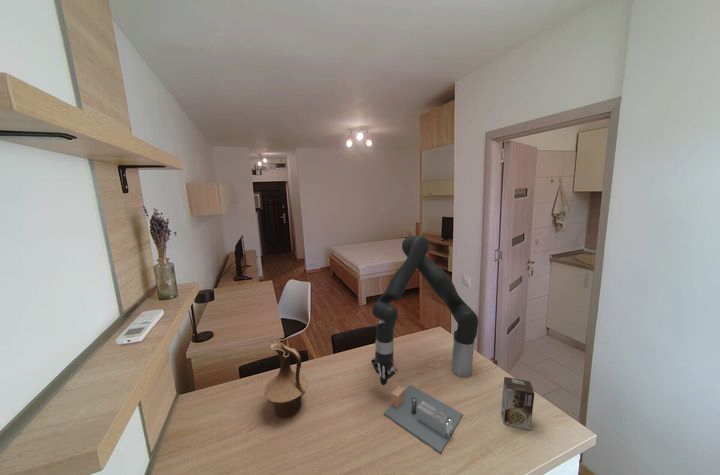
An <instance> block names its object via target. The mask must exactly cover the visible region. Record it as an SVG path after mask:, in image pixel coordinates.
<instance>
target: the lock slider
mask: <svg viewBox="0 0 720 475" xmlns="http://www.w3.org/2000/svg"><path fill="white" fill-rule="evenodd" d="M405 389H406V388H403V387H402V386H401V385H398V386H397V387H396V388H395V389H394V390H393V391H392V392H391V405H393V406H395V407H396V408H398V407H399V406H400V405H401V404H402V403H403V402H404V400H405Z"/></svg>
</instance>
